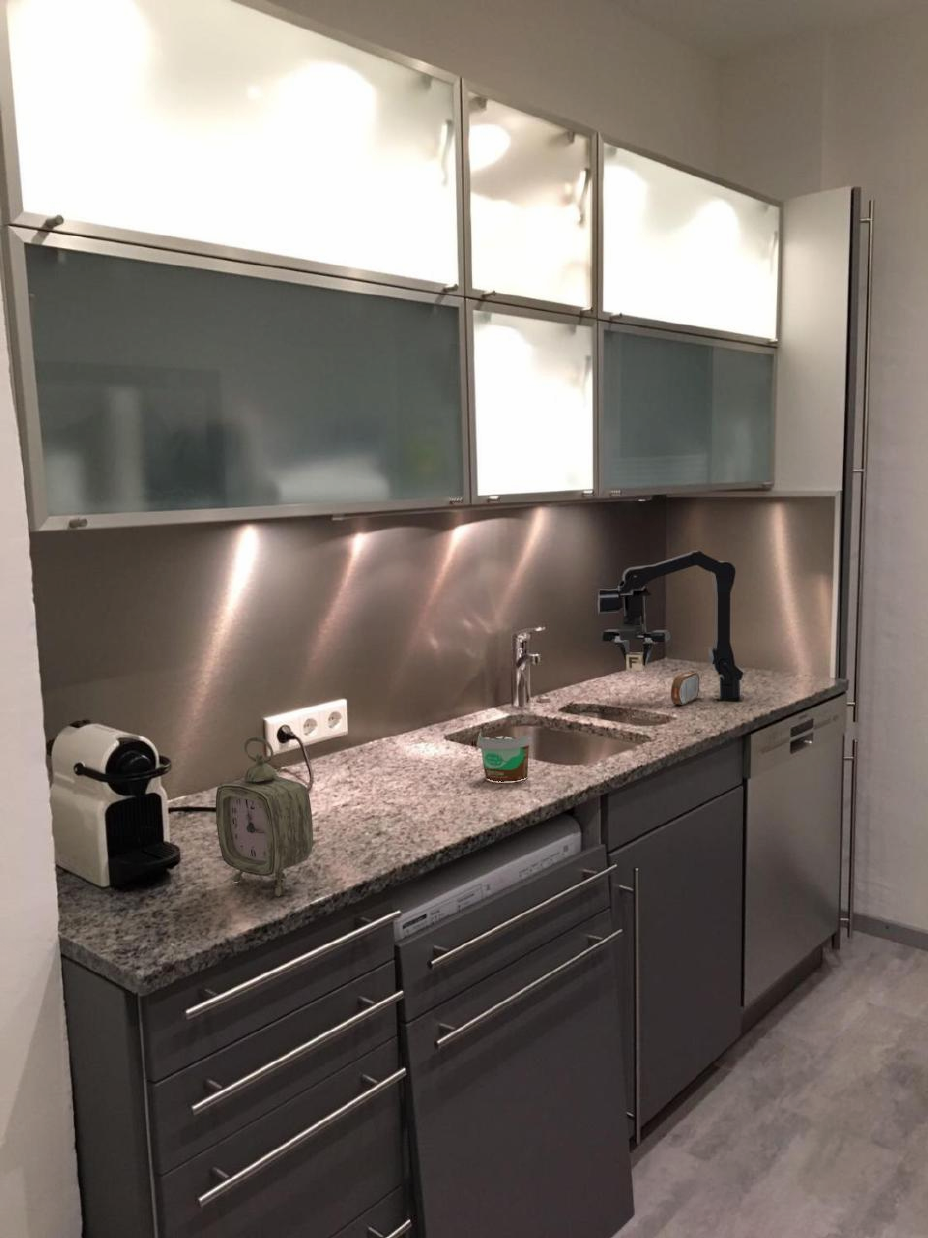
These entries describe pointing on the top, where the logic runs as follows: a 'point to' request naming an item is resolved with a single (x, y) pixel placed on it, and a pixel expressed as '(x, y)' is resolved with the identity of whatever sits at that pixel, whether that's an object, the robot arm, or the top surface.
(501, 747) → the food container
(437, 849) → the top surface
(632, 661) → the letter cube
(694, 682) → the tin
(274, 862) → the tabletop clock
